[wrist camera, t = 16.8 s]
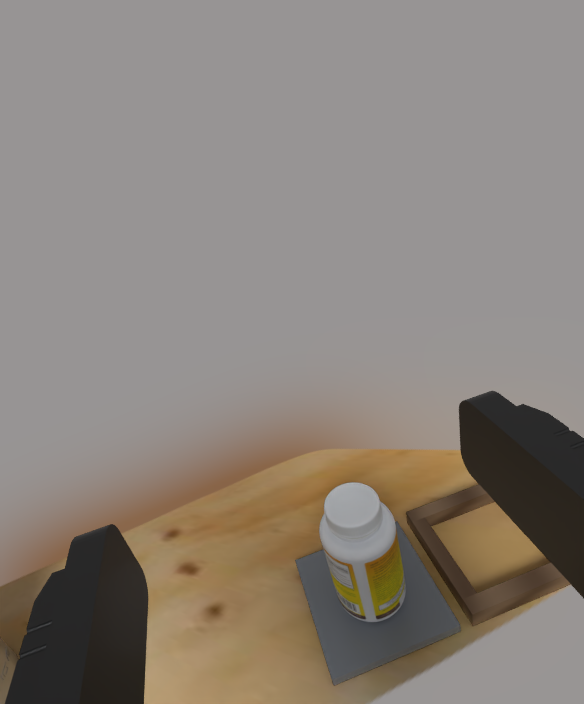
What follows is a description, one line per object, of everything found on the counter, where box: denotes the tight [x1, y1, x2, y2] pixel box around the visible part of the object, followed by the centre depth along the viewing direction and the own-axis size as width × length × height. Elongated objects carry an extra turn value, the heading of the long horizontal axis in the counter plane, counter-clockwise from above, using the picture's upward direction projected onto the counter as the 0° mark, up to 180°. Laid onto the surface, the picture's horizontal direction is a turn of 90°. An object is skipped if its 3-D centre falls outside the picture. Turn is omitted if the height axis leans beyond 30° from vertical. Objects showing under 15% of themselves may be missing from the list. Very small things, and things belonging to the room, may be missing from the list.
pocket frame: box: [406, 484, 570, 626], centre depth 37 cm, size 10×10×2 cm
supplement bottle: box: [319, 482, 406, 622], centre depth 33 cm, size 6×6×10 cm
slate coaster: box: [295, 521, 461, 685], centre depth 36 cm, size 10×10×1 cm
